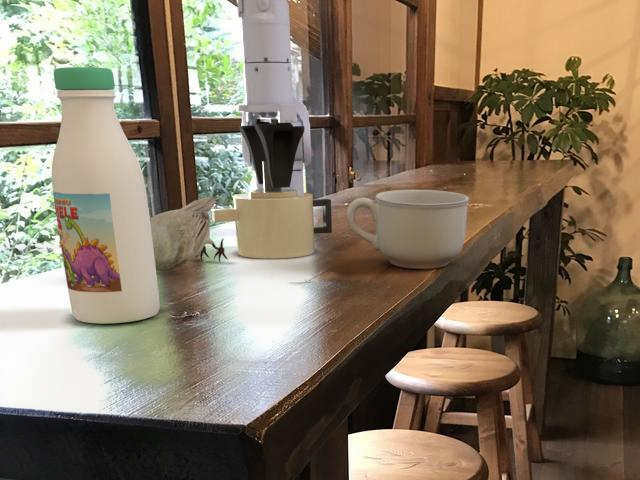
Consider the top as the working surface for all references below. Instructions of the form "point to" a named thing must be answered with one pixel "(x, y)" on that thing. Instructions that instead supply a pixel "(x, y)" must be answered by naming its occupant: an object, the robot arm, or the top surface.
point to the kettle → (275, 221)
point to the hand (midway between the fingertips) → (273, 185)
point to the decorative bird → (182, 234)
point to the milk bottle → (101, 205)
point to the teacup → (415, 226)
